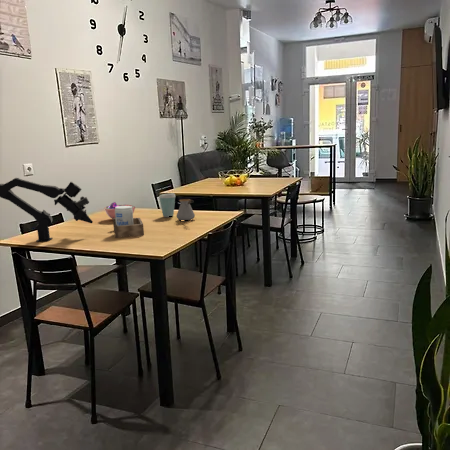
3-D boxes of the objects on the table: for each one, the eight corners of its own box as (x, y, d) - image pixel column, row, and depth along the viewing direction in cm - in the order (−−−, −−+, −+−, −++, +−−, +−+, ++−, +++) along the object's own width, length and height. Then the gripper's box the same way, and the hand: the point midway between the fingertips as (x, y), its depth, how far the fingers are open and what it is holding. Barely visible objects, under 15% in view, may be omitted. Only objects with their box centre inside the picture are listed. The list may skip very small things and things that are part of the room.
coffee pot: (174, 219, 283) (173, 195, 280) (192, 217, 287) (190, 194, 283) (183, 225, 263) (182, 200, 260) (202, 223, 267) (201, 198, 264)
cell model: (130, 222, 279) (128, 204, 276) (100, 222, 282) (98, 204, 280) (140, 217, 295) (138, 200, 293) (111, 217, 299) (110, 200, 296)
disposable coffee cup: (157, 217, 290) (155, 194, 286) (164, 214, 300) (163, 192, 297) (172, 218, 287) (171, 195, 283) (179, 215, 297) (177, 192, 293)
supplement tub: (116, 235, 244) (114, 208, 241) (116, 231, 253) (114, 206, 250) (134, 234, 246) (132, 207, 243) (134, 230, 255) (132, 204, 252)
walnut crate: (115, 237, 239) (114, 225, 237) (113, 229, 258) (112, 218, 257) (144, 235, 243) (143, 222, 241) (140, 227, 262) (139, 216, 261)
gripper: (78, 194, 230) (102, 214, 236) (79, 190, 248) (102, 208, 253) (63, 211, 230) (88, 230, 235) (66, 205, 248) (88, 223, 253)
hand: (92, 222), depth 244 cm, fingers closed
